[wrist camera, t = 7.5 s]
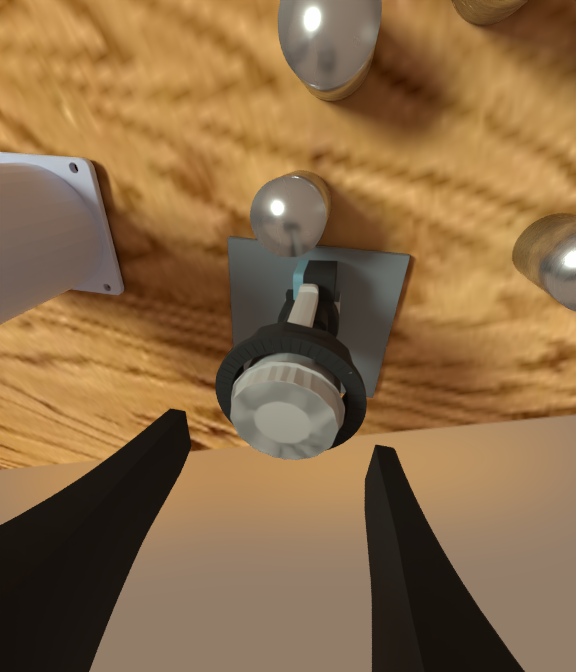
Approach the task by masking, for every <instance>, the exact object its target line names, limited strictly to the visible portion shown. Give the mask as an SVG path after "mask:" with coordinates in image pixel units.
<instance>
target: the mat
mask: <svg viewBox="0 0 576 672" xmlns="http://www.w3.org/2000/svg"><path fill="white" fill-rule="evenodd" d="M228 257H229V276H230V295H231V314H232V333H233V348H234V347H235V346H236V345H237V344H239V343H240V342H242V341H244V340H246V339H248V338H250V337H251V336H252V335H253V334H254V333H255V332H256V331H257V330H258V329H259V328H260V327H262V326H266V325H270V324H275V323H277V322H278V317H279V314H280V311H281V309H282V307H283V305H284V303H285V299H286V295H285V294H286V292H287V290H288V289H293V274H294V272H295V269H296V267H297V265H298V262H299V260H327V261H338V263H337V279H336V289H335V302H339V293H341V299H340V313H339V329H338V334H337V337H336V338H337V339H338V340H339V341H340V342H341V343H343V344H344V345H345V346H346V347H347V348H348V349H349V352H350V355H351V358H352V361H353V364H354V366H355V367H356V368H357V370H358V371H359V373H360V375H361V377H362V379H363V382H364V385H365V389H366V397H371V398H373V396H374V392H375V388H376V384H377V380H378V377H379V373H380V369H381V365H382V361H383V357H384V354H385V350H386V346H387V342H388V338H389V335H390V331H391V327H392V323H393V319H394V316H395V312H396V308H397V304H398V300H399V297H400V293H401V289H402V285H403V281H404V277H405V274H406V270H407V266H408V262H409V258H410V255H409V254H402V253H392V252H382V251H372V250H362V249H352V248H342V247H332V246H322V245H316V246H315V247H314V248H313V249H311V250H310V251H309V252H307V253H305V254H303V255H301V256H297V257H281V256H278V255H275V254H273V253H271V252H269V251H268V250H267V249H265V248H264V247H263V246H262V245H261V244H260V242H259V241H258V240H257V239H251V238H241V237H231V236H230V237H228ZM251 361H252V359H251V360H249V361H247V362H246V363H245V364H244V371H246V370H247V369H248V367H249V365H250V363H251ZM345 392H346V390H345V388H344V386H343V385H342V383H341V391H340V393H345Z"/></svg>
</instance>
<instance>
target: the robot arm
mask: <svg viewBox="0 0 576 672" xmlns="http://www.w3.org/2000/svg"><path fill="white" fill-rule="evenodd" d="M75 164H76V165H77V167H78V171H77V170H76V169H75ZM107 284H108V285H109V286H110V288H111V289H110V288H109V287H108V285H107ZM70 289H73V290H80V291H88V292H95V293H103V294H111V295H120V294H121V293H123V292H124V285H123V281H122V277H121V273H120V269H119V265H118V261H117V257H116V253H115V249H114V245H113V241H112V237H111V233H110V229H109V225H108V220H107V216H106V212H105V208H104V204H103V200H102V196H101V192H100V188H99V184H98V180H97V176H96V172H95V168H94V166H93V164H92V163H91V161H89V160H88V159H86V158H81V157H66V156H52V155H38V154H24V153H10V152H0V324H2V323H4V322H6V321H8V320H10V319H12V318H14V317H16V316H18V315H20V314H22V313H24V312H26V311H28V310H30V309H32V308H34V307H36V306H38V305H40V304H42V303H44V302H46V301H48V300H50V299H52V298H54V297H56V296H58V295H60V294H62V293H64V292H66V291H68V290H70ZM190 449H191V441H190V435H189V429H188V424H187V418H186V412H185V411H182V410H176V409H169V410H168V411H167V412H165V413H164V414H163V415H162V416H161V417H159V418H158V419H157V420H156V421H154V422H153V423H152V424H151V425H150V426H148V427H147V428H146V429H145V430H144V431H142V432H141V433H140V434H139V435H137V436H136V437H135V438H134V439H132V440H131V441H130V442H129V443H127V444H126V445H125V446H123V447H122V448H121V449H120V450H118V451H117V452H116V453H114V454H113V455H112V456H110V457H109V458H108V459H106V460H105V461H104V462H102V463H101V464H99V465H98V466H97V467H95V468H94V469H93V470H91V471H90V472H88V473H87V474H85V475H84V476H82V477H81V478H80V479H78V480H77V481H75V482H74V483H72V484H70V485H69V486H67V487H66V488H64V489H63V490H61V491H60V492H58V493H56V494H55V495H53V496H52V497H50V498H48V499H46V500H45V501H43V502H41V503H39V504H38V505H36V506H34V507H32V508H31V509H29V510H27V511H26V512H24V513H22V514H21V515H19V516H17V517H15V518H13V519H11V520H9V521H7V522H5V523H4V524H2V525H0V672H89V670H90V668H91V665H92V662H93V660H94V657H95V654H96V652H97V649H98V647H99V644H100V641H101V639H102V636H103V634H104V631H105V629H106V626H107V624H108V621H109V619H110V616H111V614H112V611H113V609H114V606H115V604H116V602H117V599H118V597H119V595H120V592H121V590H122V588H123V585H124V583H125V580H126V578H127V576H128V573H129V571H130V569H131V567H132V564H133V562H134V560H135V558H136V556H137V553H138V551H139V549H140V547H141V545H142V542H143V540H144V539H145V537H146V535H147V533H148V531H149V529H150V527H151V525H152V523H153V522H154V520H155V518H156V516H157V514H158V513H159V511H160V509H161V507H162V505H163V504H164V502H165V500H166V498H167V496H168V495H169V493H170V491H171V489H172V487H173V486H174V484H175V482H176V480H177V478H178V477H179V475H180V473H181V470H182V468H183V466H184V464H185V461H186V459H187V456H188V454H189V451H190ZM365 520H366V532H367V542H368V554H369V566H370V577H371V593H372V672H525V671H524V670H523V669H522V667H521V666H520V665H519V663H518V662H517V661H516V659H515V658H514V657H513V655H512V654H511V652H510V651H509V650H508V648H507V647H506V645H505V644H504V642H503V641H502V640H501V638H500V637H499V635H498V634H497V633H496V631H495V630H494V628H493V627H492V625H491V624H490V623H489V621H488V620H487V618H486V617H485V616H484V614H483V613H482V611H481V610H480V608H479V607H478V605H477V604H476V602H475V601H474V599H473V598H472V596H471V595H470V593H469V592H468V590H467V589H466V587H465V585H464V584H463V582H462V581H461V579H460V578H459V576H458V574H457V573H456V571H455V569H454V568H453V566H452V565H451V563H450V561H449V560H448V558H447V556H446V554H445V553H444V551H443V549H442V548H441V546H440V544H439V542H438V540H437V538H436V537H435V535H434V533H433V531H432V529H431V527H430V526H429V524H428V522H427V520H426V518H425V516H424V514H423V512H422V510H421V508H420V506H419V504H418V502H417V500H416V498H415V496H414V493H413V491H412V489H411V487H410V485H409V482H408V480H407V478H406V476H405V473H404V471H403V469H402V466H401V464H400V461H399V459H398V456H397V453H396V451H395V449H394V448H391V447H387V446H381V445H375V448H374V452H373V455H372V458H371V461H370V465H369V468H368V472H367V475H366V478H365Z"/></svg>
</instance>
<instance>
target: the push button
mask: <svg viewBox="0 0 576 672" xmlns="http://www.w3.org/2000/svg"><path fill="white" fill-rule="evenodd" d="M337 263H338V261H327V260H299V262H298V265H297V267H296V269H295V272H294V274H293V289H288V290H287V292H286V294H285V295H286V299H285V303H284V305H283V307H282V309H281V311H280V314H279V317H278V322H277V323H275V324H270V325H266V326H262V327H260V328H259V329H258V330H257V331H256V332H255V333H254V334H253V335H252V336H251V337H250V338H248V339H246V340H244V341H242V342H240V343H239V344H237V345H236V346H235V347H234V348H233V349H232V350H231V351H230V352H229V353H228V354H227V356H226V357H225V359H224V360H223V362H222V364H221V366H220V368H219V370H218V373H217V376H216V384H215V388H216V395H217V399H218V402H219V405H220V407H221V409H222V411H223V412H224V414H225V416H226V417H227V418H228V420H229V421H230V422H231V423H232V424H233V425H234V427H235V429H236V431H237V434H238V435H239V436H240V437H241V438H242V439H244V440H245V441H246V442H247V443H248V444H249V445H250V446H252V447H253V448H254V449H257V450H258V451H260V452H262V453H266V454H268V455H270V456H272V457H276V458H282V459H292V460H299V459H305V458H311V457H315V456H318V455H319V454H320V453H322V452H323V451H325V450H328V449H331V448H334V447H336V446H338V445H340V444H342V443H344V442H345V441H347V440H348V439H349V438H351V437H352V436H353V435H354V434H355V433H356V432H357V431H358V429H359V428H360V426H361V424H362V422H363V420H364V417H365V414H366V405H367V401H366V389H365V385H364V382H363V379H362V377H361V375H360V373H359V371H358V370H357V368H356V367H355V366H354V364H353V361H352V358H351V355H350V352H349V349H348V348H347V347H346V346H345V345H344V344H343V343H341V342H340V341H339V340H338V339H337V338H336V337H337V334H338V329H339V313H340V299H341V293H339V302H335V289H336V279H337ZM251 359H252V361H251V363H250V365H249V367H248V369H247V370H246V371H244V364H245V363H246V362H247V361H249V360H251ZM341 383H342V385H343V386H344V388H345V390H346V392H345V394H344V396H343V397H342V398H341V396H340V391H341Z"/></svg>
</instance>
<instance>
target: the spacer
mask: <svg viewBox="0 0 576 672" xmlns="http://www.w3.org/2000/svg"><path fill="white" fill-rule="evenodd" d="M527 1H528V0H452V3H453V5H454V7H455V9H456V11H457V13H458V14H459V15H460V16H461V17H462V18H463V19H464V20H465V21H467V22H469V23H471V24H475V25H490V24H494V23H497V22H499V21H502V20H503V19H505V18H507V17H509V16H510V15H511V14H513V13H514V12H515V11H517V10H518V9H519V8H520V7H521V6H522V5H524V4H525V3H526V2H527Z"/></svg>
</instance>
